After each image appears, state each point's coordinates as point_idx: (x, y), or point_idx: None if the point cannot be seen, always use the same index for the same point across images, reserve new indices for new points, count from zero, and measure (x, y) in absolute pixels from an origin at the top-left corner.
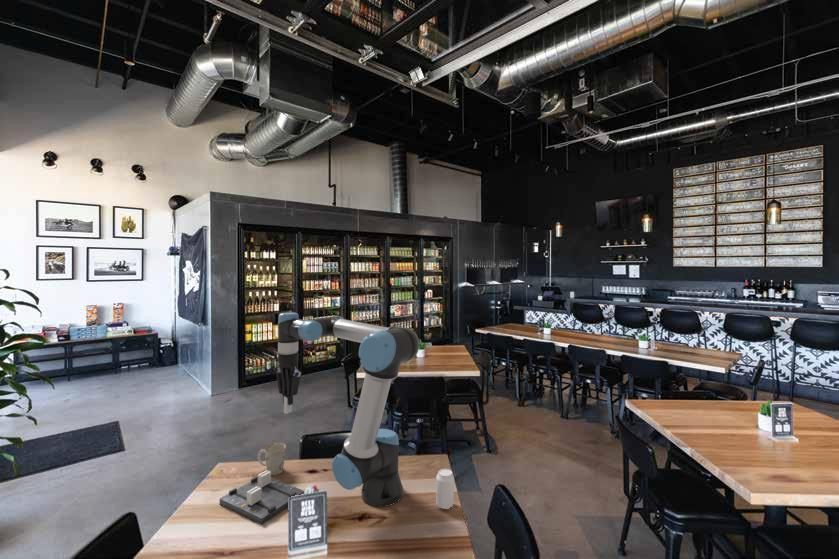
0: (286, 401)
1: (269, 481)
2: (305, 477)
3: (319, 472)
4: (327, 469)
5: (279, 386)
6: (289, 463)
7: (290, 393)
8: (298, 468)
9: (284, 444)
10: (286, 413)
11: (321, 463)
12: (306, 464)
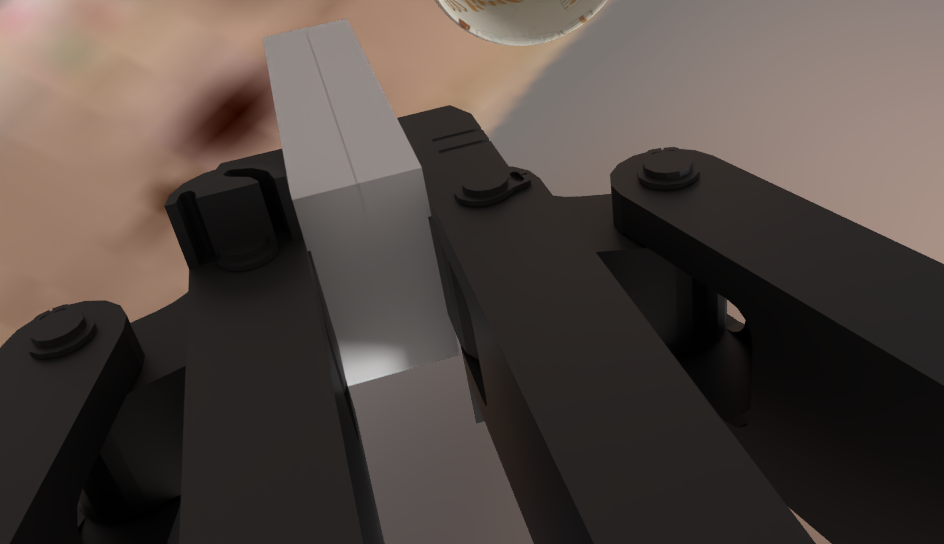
0: (288, 141)
1: None
2: (178, 24)
3: (172, 146)
4: None
5: (818, 269)
6: (490, 53)
7: (114, 347)
8: None
9: (516, 40)
10: (264, 38)
11: None
12: None
